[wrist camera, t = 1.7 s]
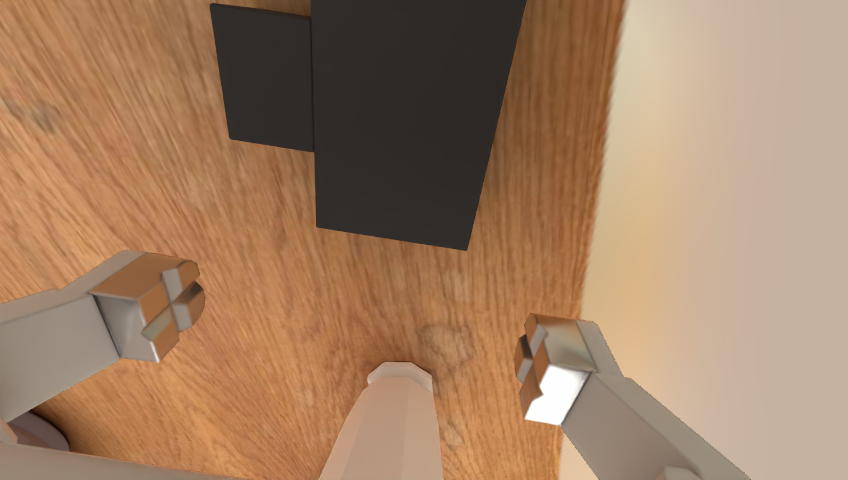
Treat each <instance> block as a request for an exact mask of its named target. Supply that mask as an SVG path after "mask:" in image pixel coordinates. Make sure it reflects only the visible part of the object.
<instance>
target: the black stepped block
mask: <svg viewBox="0 0 848 480" xmlns="http://www.w3.org/2000/svg"><path fill="white" fill-rule="evenodd" d="M525 4H526V0H311V17H308V16H302V15H295V14H289V13H283V12H276V11H270V10H264V9H257V8H249V7H241V6H233V5H224V4H216V3H211V4H210V11H211V18H212V24H213V31H214V38H215V45H216V51H217V58H218V65H219V71H220V78H221V85H222V92H223V98H224V105H225V112H226V118H227V125H228V132H229V138H230V139H232V140H239V141H245V142H251V143H258V144H264V145H270V146H277V147H283V148H289V149H296V150H302V151H308V152H314V153H315V193H316V227H318V228H324V229H330V230H337V231H343V232H349V233H356V234H362V235H369V236H375V237H381V238H388V239H394V240H400V241H407V242H413V243H420V244H426V245H432V246H439V247H445V248H452V249H458V250H464V251H467V249H468V245H469V240H470V236H471V232H472V228H473V224H474V219H475V215H476V211H477V207H478V203H479V198H480V194H481V190H482V186H483V181H484V177H485V173H486V169H487V165H488V160H489V156H490V152H491V148H492V144H493V139H494V135H495V131H496V127H497V122H498V118H499V114H500V110H501V106H502V101H503V97H504V93H505V89H506V85H507V80H508V76H509V72H510V68H511V63H512V59H513V55H514V51H515V47H516V42H517V38H518V34H519V30H520V26H521V21H522V17H523V13H524V9H525Z"/></svg>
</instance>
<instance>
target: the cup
mask: <svg viewBox="0 0 848 480" xmlns="http://www.w3.org/2000/svg"><path fill="white" fill-rule="evenodd" d="M367 381H368V385H369V386H368V387H367V388H365V389H364V390H363V391H362V393H361V394H360V396H359V398H358V399H357V401H356V403H355V404H354V406H353V408H352V410H351V411H350V413H349V415H348V416H347V418H346V420H345V422H344V424H343V426H342V429H341V431H340V433H339V435H338V438H337V440H336V442H335V444H334V447H333V449H332V451H331V453H330V456H329V458H328V460H327V462H326V464H325V467H324V469H323V471H322V473H321V475H320V477H319V479H318V480H444V479H443V470H442V459H441V448H440V437H439V426H438V419H437V415H436V410H435V405H434V400H433V385H432V375H430V374H429V373H427V372H425V371H424V370H422V369H421V368H419V367H418V366H416V365H415V364H413V363H411V362H384V363H382V364H381V365H380V366H378V367H377V368H376V369H375V370H373V371H372V372H371V373H370V374H368V378H367Z"/></svg>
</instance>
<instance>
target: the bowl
mask: <svg viewBox="0 0 848 480" xmlns="http://www.w3.org/2000/svg"><path fill="white" fill-rule="evenodd" d="M7 424H8V426H9V427H10V428H11V429H12V431H13V432H14V433H15V435H16V436H17V437H18V440H17V444H22V445H28V446H35V447H41V448H48V449H55V450H61V451H68V452H69V445H68V443H67V441H66V440H65V438H64V436H63V435H62V434H61V433H60V432H59V430H57V429H56V428H55V427H54V426H53V425H52V424H50V423H49V422H47V421H46V420H44V419H43V418H41V417H39V416H37V415H36V414H34V413H32V412H29V411H27V412H25V413H23V414H22V415H20V416H18V417H16V418H14V419H13V420H11V421H9V422H7Z"/></svg>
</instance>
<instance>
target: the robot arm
mask: <svg viewBox="0 0 848 480" xmlns="http://www.w3.org/2000/svg"><path fill="white" fill-rule="evenodd" d="M199 276H200V272H199V269H198V265H197V263H196V262H194V261H192V260H189V259H183V258H178V257H172V256H166V255H161V254H155V253H148V252H142V251H136V250H124V251H121V252H119V253H117V254H116V255H114V256H113V257H111V258H109V259H108V260H106V261H105V262H103V263H102V264H100V265H98V266H97V267H95V268H94V269H92V270H90V271H89V272H87V273H86V274H84V275H83V276H81V277H79V278H78V279H76V280H75V281H73V282H71V283H70V284H68V285H67V286H65V287H64V288H62V289H60V290H59V289H50V290H46V291H43V292H39V293H36V294H33V295H29V296H26V297H22V298H19V299H15V300H12V301H8V302H5V303H1V304H0V480H251V479H244V478H238V477H231V476H225V475H218V474H212V473H205V472H198V471H192V470H185V469H179V468H172V467H166V466H159V465H153V464H146V463H140V462H133V461H126V460H120V459H113V458H107V457H100V456H94V455H87V454H81V453H74V452H68V451H61V450H55V449H48V448H41V447H35V446H28V445H22V444H17V440H18V437H17V436H16V435H15V433H14V432H13V431H12V429H11V428H10V427H9V426H8V424H7V422H9V421H11V420H13V419H14V418H16V417H18V416H20V415H22V414H23V413H25V412H27V411H29V410H31V409H32V408H34V407H36V406H38V405H40V404H42V403H43V402H45V401H47V400H49V399H51V398H52V397H54V396H56V395H58V394H60V393H61V392H63V391H65V390H67V389H69V388H70V387H72V386H74V385H76V384H78V383H79V382H81V381H83V380H85V379H87V378H88V377H90V376H92V375H94V374H96V373H98V372H99V371H101V370H103V369H105V368H107V367H108V366H110V365H112V364H114V363H116V362H117V361H119V360H120V358H126V359H134V360H142V361H150V362H158V363H159V362H160V361H161V360H162V359H163V358H164V357H165V355H166V354H167V353H168V352H169V351H170V350H171V349H172V348H173V347H174V346H175V345H176V343H177V342H178V341H179V332H181V331H183V330H185V329H188V328H190V327H192V326H193V325H194V324H195V322H196V321H197V320H198V319H199V318H200V316H201V313H202V311H203V309H204V306H205V294H204V289H203V288H202V287H201V286H200V285H199V284H198V283H197V282H196V280H197V278H198V277H199ZM524 326H525V331H526V334H525V335H523V336H522V337H520V338H519V340H518V343H517V346H516V350H515V358H514V362H515V373H516V377H517V378H518V379H519V381H520V382H521V383H522V384H523V385H522V387H521V390H520V392H519V395H520V400H521V405H522V410H523V416H524V419H526V420H532V421H537V422H543V423H548V424H554V425H559V426H561V429H562V430H563V431H564V433H565V434H566V435H567V437H568V438H569V439H570V441H571V442H572V444H573V445H574V446H575V448H576V449H577V450H578V452H579V453H580V454H581V456H582V457H583V459H584V460H585V461H586V463H587V464H588V465H589V467H590V468H591V469H592V471H593V472H594V474H595V475H596V476H597V478H598V479H599V480H751V479H750V478H749V477H748V476H747V475H746V474H745V473H744V472H742V471H741V470H740V469H739V468H738V467H736V466H735V465H734V464H733V463H732V462H730V461H729V460H728V459H727V458H726V457H724V456H723V455H722V454H721V453H720V452H718V451H717V450H716V449H715V448H714V447H712V446H711V445H710V444H709V443H708V442H706V441H705V440H704V439H703V438H702V437H700V436H699V435H698V434H697V433H696V432H694V431H693V430H692V429H691V428H690V427H688V426H687V425H686V424H685V423H684V422H683V421H681V420H680V419H679V418H678V417H677V416H675V415H674V414H673V413H672V412H670V411H669V410H668V409H667V408H666V407H665V406H663V405H662V404H661V403H660V402H659V401H657V400H656V399H655V398H654V397H653V396H651V395H650V394H649V393H648V392H646V391H645V390H644V389H643V388H642V387H641V386H639V385H638V384H637V383H636V382H635V381H633V380H632V379H631V378H626V377H624V376H623V374H622V373H621V371H620V369H619V366H618V365H617V363H616V361H615V359H614V357H613V355H612V353H611V351H610V349H609V347H608V345H607V343H606V341H605V339H604V337H603V335H602V333H601V331H600V329H599V327H598V325H597V324H596V323H594V322H593V321H586V320H579V319H568V318H561V317H554V316H548V315H541V314H534V313H530V314H529V316H528V317H527V319H526V322H525V324H524Z"/></svg>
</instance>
